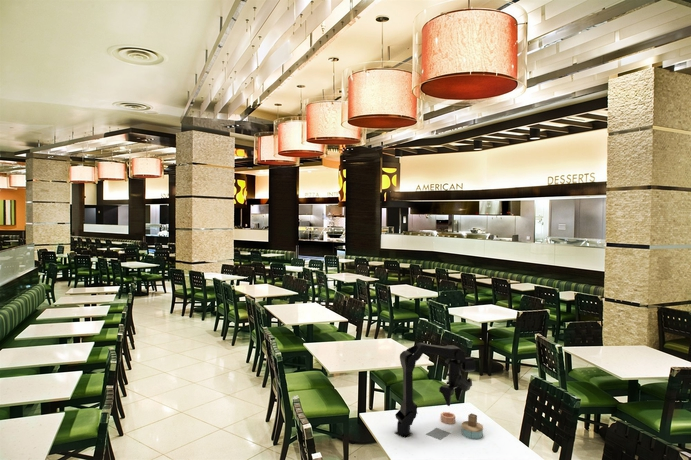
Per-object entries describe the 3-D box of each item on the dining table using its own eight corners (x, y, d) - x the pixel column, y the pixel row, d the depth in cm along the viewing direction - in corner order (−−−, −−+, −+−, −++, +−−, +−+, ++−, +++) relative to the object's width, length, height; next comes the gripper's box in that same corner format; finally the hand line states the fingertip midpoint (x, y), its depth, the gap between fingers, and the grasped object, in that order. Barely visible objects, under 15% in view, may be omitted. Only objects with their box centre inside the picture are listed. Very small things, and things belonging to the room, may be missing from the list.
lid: (477, 433, 215) (477, 421, 215) (457, 427, 222) (458, 415, 222) (486, 427, 223) (487, 415, 223) (467, 420, 230) (468, 409, 229)
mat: (440, 440, 216) (440, 439, 216) (425, 435, 221) (425, 434, 221) (450, 433, 224) (451, 433, 224) (436, 428, 229) (436, 427, 229)
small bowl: (450, 426, 232) (450, 419, 232) (438, 421, 237) (438, 414, 237) (457, 421, 237) (457, 415, 237) (445, 417, 242) (445, 411, 242)
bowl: (476, 441, 216) (476, 433, 216) (459, 435, 222) (459, 427, 222) (484, 435, 223) (485, 427, 223) (467, 429, 229) (468, 421, 229)
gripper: (460, 380, 216) (458, 413, 216) (478, 371, 230) (477, 402, 230) (439, 374, 223) (438, 406, 223) (458, 366, 237) (456, 396, 237)
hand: (453, 403), depth 228 cm, fingers open, 9 cm apart
